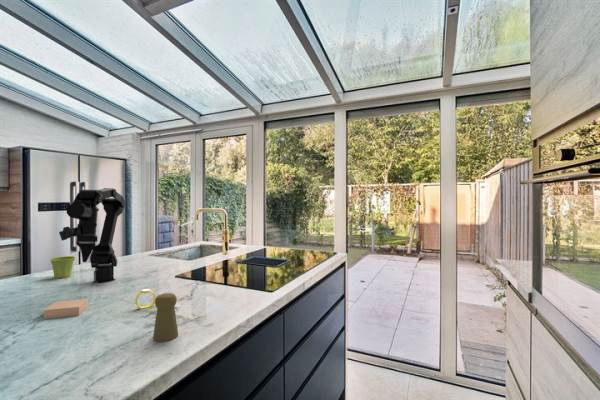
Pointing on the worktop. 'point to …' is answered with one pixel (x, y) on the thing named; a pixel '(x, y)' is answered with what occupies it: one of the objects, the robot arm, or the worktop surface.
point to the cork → (165, 318)
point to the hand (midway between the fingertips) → (84, 262)
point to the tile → (66, 308)
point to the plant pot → (62, 266)
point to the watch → (145, 292)
